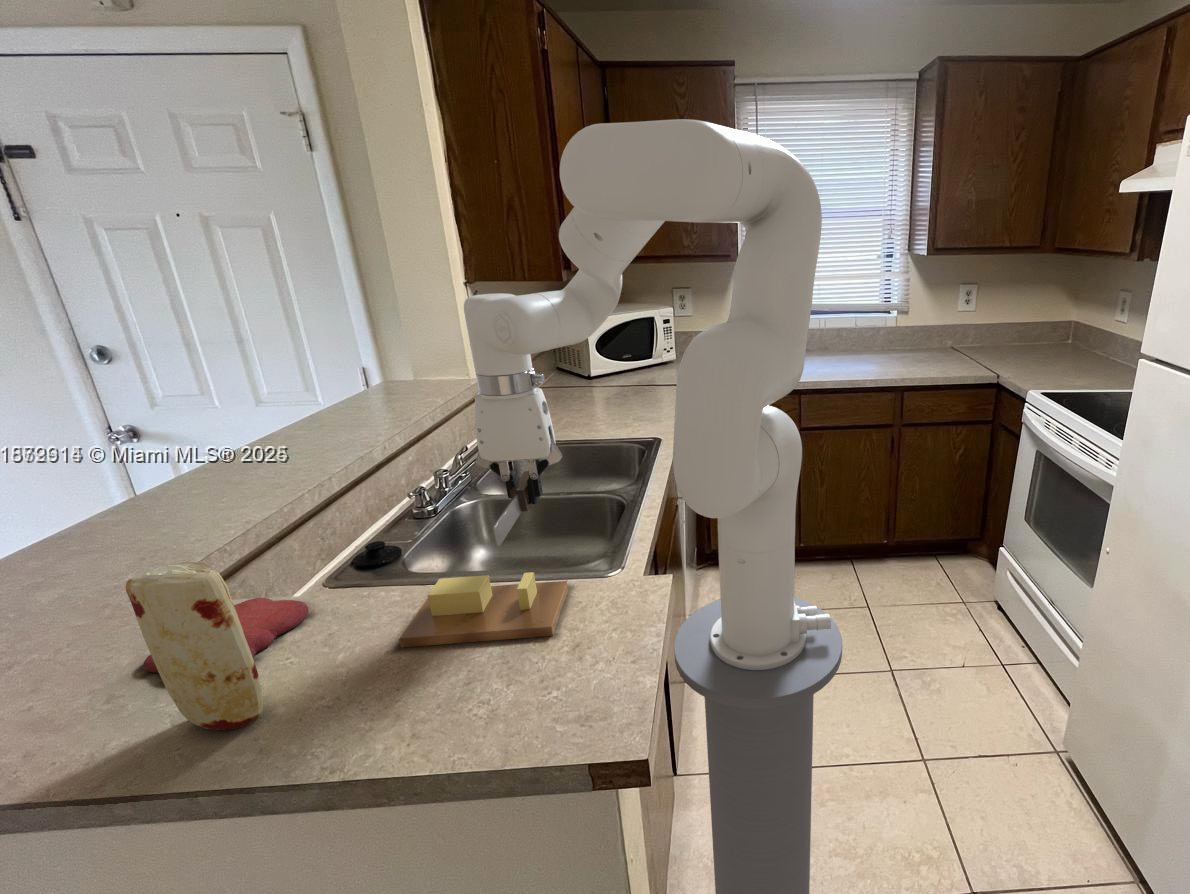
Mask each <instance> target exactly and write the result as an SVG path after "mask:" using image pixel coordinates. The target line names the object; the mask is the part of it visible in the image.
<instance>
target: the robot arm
mask: <svg viewBox="0 0 1190 894" xmlns="http://www.w3.org/2000/svg"><path fill="white" fill-rule="evenodd" d="M559 180H560V184H561V189H562V191H563V194H564V195H565V197H566V198H567V200H568V202H569V203H570V205H572V206H573V207H572V209H571V210H570V212H569V213H568V214H567V216H566V217H565V219H564V220H563V221H562V223H561V225H560V227H559V231H558V240H559V244H560V246H561V249H562V250H563V252H564V254H565V255H566V257H567V258H568V259H569V260H570V261H571V263H572V264H573V265H574V266H575V267H576V268H578V271H577V272H576V273H575V275H574V276H573V277H572V278H571V279H570V281H569V282H568V283H567V284H566V286H564V288H562V289H560V290H559V289H558V290H551V291H542V292H533V293H532V292H531V293H529V294H519V295H516V294H512V293H503V292H502V293H501V292H500V293H483V294H476V295H471V296H469V297H467V298H466V299H465V300H464V303H463V314H464V319H465V324H466V329H467V335H468V340H469V346H470V351H471V357H472V360H473V367H474V372H475V377H476V383H477V389H478V392H477V393H476V394H475V395H474V396H475V397H474V427H475V435H476V436H475V437H476V443H477V449H478V452H477V456H476V459H475V465H476V466H478V467H481V468H484V469H489V470H491V471H492V472H493V473H494V474H496V475H497V476H499V477H500V479H501V480H502V481H503V482H505V488H506V493H507V499H511V494H510V491H511V489H512V488H513V486H514V485H515V484H516V482H517V481H518V480H519V478H520V475H519V474H518V473H516V471H515V470H516V469H515V464H514V462H519V461H520V462H521V461H526V463H527V469H528V470H527V471H529V479H528V480H527V485H528V490H529V496H530V501H531V503H532V504H531V505H537V503H538V502H539V500H540V499H541V497H542V496H543V485H542V479H541V474H542V473H543V472H544V471H545V470H546V469H547V468H548V467H551V466H552V465H554V464H557V463H559V462H560V461H561V460H562V459H563V453H562V452H561V451H560V448H559V447H558V446H557V444H556V435H555V430H554V426H553V422H552V417H551V414H550V413H551V412H550V409H549V407H548V406H549V405H548V402H547V399H546V397H545V394H544V391H543V389H542V388H540V387H537V386H538V385H539V384H544V383H545V381H546V379H545V374H544V373H538V372H536V371H535V368H534V367H533V361H532V356H531V355H535V354H539V353H543V352H546V351H547V352H548V351H550V350H554V349H558V348H564V347H567V346H571V345H577V344H580V343H582V342H584V341H586V340H587V339H589V338H590V337H591V336H593V334H594V333H596V332H597V331H598V329H599V328H600V327H601V326H602V325H603V324H604V322H606V320H607V319H608V318H609V317H610V316H611V315H612V313H613V312H614V310H615V309H616V307H617V306H618V304H619V301H620V297H621V293H622V288H623V272H625V270H626V268H627V267H628V266H629V265H630V264H631V262H632V261H633V260H634V259H635V258H636V257H637V255H638V254H639V253H640V252H641V251H642V249H643V248H644V247H645V246H646V244H647V243H648V242H649V241H650V239H651V238H653V236H654V235H655V234H656V232H657V231H658V230H659V229H660V228H661V226H662V225H663V224H664V223H665V222H677V223H678V222H682V223H699V224H700V223H709V224H711V223H714V224H716V223H718V224H729V223H731V224H732V223H733V224H734V223H736V224H737V223H739V224H740V225H742V226H743V227H744V230H745V235H744V239H743V242H742V244H741V247H740V248H739V252H738V255H737V257H736V261H735V264H734V269H733V275H732V292H731V294H732V295H731V299H730V300H731V301H730V309H729V314H728V318H727V321H725V322H723V323H717V324H714V325H713V326H710V327H708V328H706V329H704V330H702V331H701V332H699V333H698V334H697V335H696V336H695V337H693V339H692V340H691V341H690V342H689V344H688V345H687V347H686V349H685V350H684V352H683V355H682V357H681V360H680V362H679V365H678V369H677V377H676V387H675V404H674V405H675V407H674V424H673V445H672V472H673V477H674V482H675V485H676V488H677V490H678V493H679V495H680V497H681V498H682V500H683V501H684V502H685V504H686V505H687V506H688V508H690V509H691V510H692V511H693V512H695V513H696V514H698V515H700V516H703V517H705V518H709V519H717V546H718V572H719V593H720V594H719V595H720V598H719V599H721V618H719V619H718V620H717V621H716V623H715V624H714V625H713V627H712V629H711V634H710V642H711V647H712V650H713V651H714V653H715V654H716V655H717V656H718V657H719V658H720V659H721V660H722V661H724V662H726V663H727V664H729V665H732V666H734V667H737V668H741V669H747V670H767V669H773V668H777V667H780V666H783V665H785V664H787V663H789V662H791V661H792V660H794V659H795V658H796V657H797V656H798V655H799V654H800V653H801V652H802V650H803V649H804V647H805V643H806V633H807V630H815V629H816V630H823V629H830V628H831V620H830V618H831V616H830V614H829V613H826V614H821V615H818V612H817V607H818V606H817V605H815V606H809V607H802V608H800V607H799V606H796V604H795V601H794V597H795V580H796V579H795V578H796V577H795V567H796V566H795V565H796V564H795V563H796V561H795V560H796V556H795V555H796V554H795V553H796V551H795V550H796V511H797V510H796V509H797V496H798V487H799V482H800V475H801V469H802V461H803V444H802V438H801V434H800V431H799V429H798V427H797V425H796V423H795V422H794V421H793V419H792V418H791V417H790V416H789V415H788V413H786V412H784V411H783V410H781V409H779V408H777V407H775V406H772V404H774V403H776V402H777V401H779V400H780V399H783V398H784V397H786V396H787V395H789V394H790V393H791V392H792V391H793V390H794V389H795V388H796V387H797V386H798V384H799V383H800V381H801V378H802V376H803V372H804V367H805V360H806V352H807V343H808V336H809V329H810V321H811V313H812V306H813V296H814V285H815V278H816V271H817V263H818V258H819V251H820V244H821V238H822V227H823V225H822V224H823V217H822V213H823V212H822V205H821V199H820V195H819V191H818V188H817V186H816V183H815V181H814V179H813V177H812V175H811V173H810V172H809V170H808V169H807V168H806V166H805V165H804V164H803V163H802V162H801V160H799V159H798V157H796V156H795V155H794V154H793V153H792V152H791V151H789V150H788V149H786V148H785V147H783V146H782V145H780V144H779V143H776V142H775V141H773V140H770V139H769V138H766V137H764V136H761V135H759V134H755V133H752V132H749V131H745V130H741V129H736V128H732V127H729V126H724V125H720V124H717V123H713V122H709V121H705V120H700V119H699V120H698V119H687V118H686V119H685V118H683V119H680V118H679V119H678V118H677V119H661V120H646V121H628V122H606V123H603V122H602V123H594V124H590V125H588V126H585V127H583V128H582V129H580V130H579V131H577V132H576V133H575V134H574V135H573V136H572V137H571V138H570V139H569V141H568V142H567V144H566V145H565V147H564V149H563V151H562V154H561V157H560V162H559Z"/></svg>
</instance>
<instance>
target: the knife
mask: <svg viewBox="0 0 1190 894" xmlns="http://www.w3.org/2000/svg"><path fill="white" fill-rule="evenodd" d="M528 479H529V470H524V471H523V472H522V474H521V475H520V476H519V480H518V481H517V482H516V484H515V485H514V486H513V488H512V489H511V491H510V494H511V498H510V500H511V501H509V503H508V505H507V506H506V508H505V509H504V510H503V512H502V513H501V515H500V516H499V518H498V519H497V521H496V522H495V523H494V525H493V527H492V529H493V535H494V540H495V544H496V548H497V549H498V548H500V547H501V545H502V544H503V543H504V540H505V539H506V538H507V536H508V534H509V533H510V531H511V529H512V528H513V527H514V525H515V523H516V522H517V520H518V518H519V517H520V515H521V514H522V512H528V511H529V509H530V508H531V506H532V505H533V504H532V503H531V501H530V496H529V490H528V485H527V480H528Z"/></svg>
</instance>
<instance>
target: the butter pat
mask: <svg viewBox="0 0 1190 894" xmlns="http://www.w3.org/2000/svg"><path fill="white" fill-rule="evenodd" d="M536 583H537V582H536V576H535V572H534V571H532V572H531V571H529V572H524V573H523V575H522V577H521V579H520V581H519V583H518V584H519V585H518V587H517V594H518V600H519V606H520V610H525V609H530V608H531V606H532V603H533V601H534V598H535V596H536V594H537V588H536Z"/></svg>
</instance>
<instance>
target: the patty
mask: <svg viewBox="0 0 1190 894" xmlns="http://www.w3.org/2000/svg"><path fill="white" fill-rule="evenodd" d="M234 607H235V610H236V612H237V615H238V618H239V621H240V624H241V626H242V629H243V632H244V635H245V637H246V640H247V643H248V646H249V649H250V651H251V654H252V657H253V659H254V658H255V657H256V654H257V653H259V652H261V651H263V650H264V649H266V648H268V647H269V646H270V645H271V644H272V643H273V642H274V641H275V640H274V639H276V638H277V637H279V636H281V635H283V634H285V633H286V632H289V631H291V630H292V629H294V628H296V627H297V626H298V625H299V624H301V623H302V622H303V621H304V620H306V618H307V617H308V614H309V611H310V610H309V607H308V605H307V604H306V603H304V602H303V601H299V600H295V599H282V600H281V599H279V600H272V599H270V598H267V597H254V598H251V599H246V600H244V601H242V602H239V603H236V604H234ZM142 667H143V669H144V671H146V672H149V673H158V674H159V672H158V669H157V667H156V665H155V663H154V660H153V658H152V656H151V654H149V655H148V656H147V657H146V658H145V659H144V661H143V664H142Z"/></svg>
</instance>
